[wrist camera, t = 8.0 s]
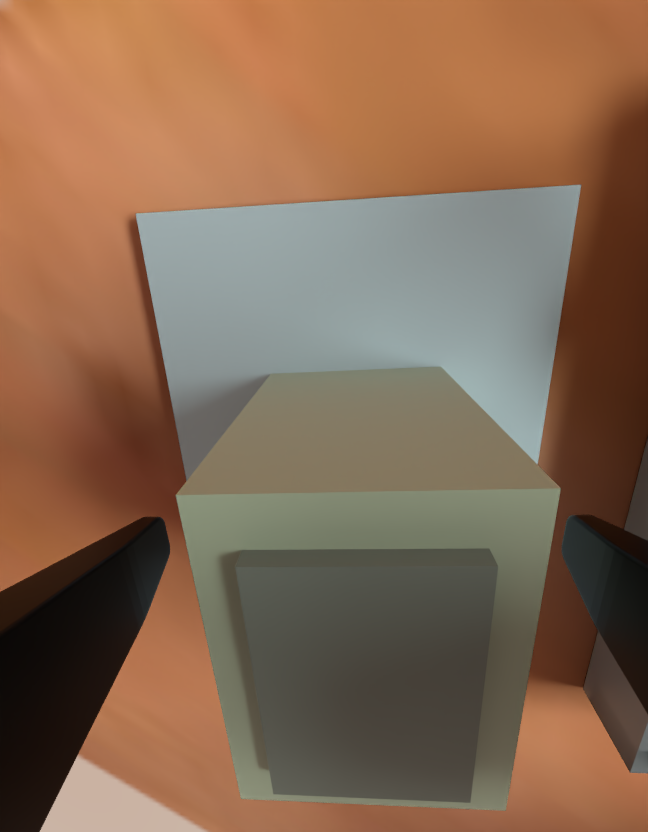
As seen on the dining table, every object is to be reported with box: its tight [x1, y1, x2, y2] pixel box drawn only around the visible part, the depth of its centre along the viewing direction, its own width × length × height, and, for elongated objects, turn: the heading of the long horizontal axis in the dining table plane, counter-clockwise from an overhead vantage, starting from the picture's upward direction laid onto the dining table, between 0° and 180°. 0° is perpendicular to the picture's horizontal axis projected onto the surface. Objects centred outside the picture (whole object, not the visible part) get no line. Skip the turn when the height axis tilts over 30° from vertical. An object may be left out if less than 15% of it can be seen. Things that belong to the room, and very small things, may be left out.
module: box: [176, 367, 561, 811], centre depth 8 cm, size 6×4×6 cm
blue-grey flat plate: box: [136, 185, 581, 481], centre depth 11 cm, size 14×10×1 cm
